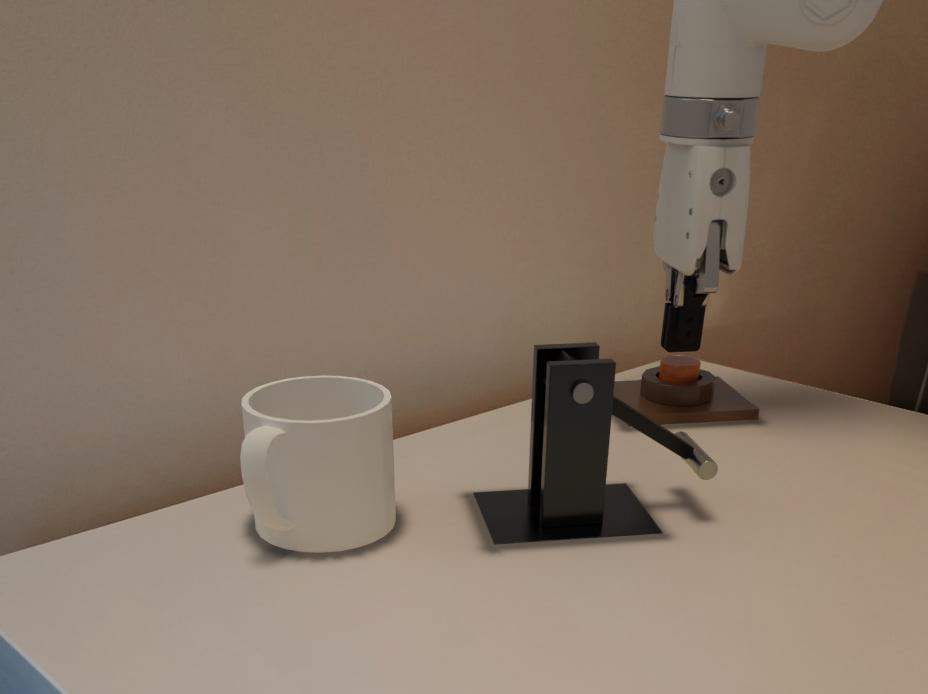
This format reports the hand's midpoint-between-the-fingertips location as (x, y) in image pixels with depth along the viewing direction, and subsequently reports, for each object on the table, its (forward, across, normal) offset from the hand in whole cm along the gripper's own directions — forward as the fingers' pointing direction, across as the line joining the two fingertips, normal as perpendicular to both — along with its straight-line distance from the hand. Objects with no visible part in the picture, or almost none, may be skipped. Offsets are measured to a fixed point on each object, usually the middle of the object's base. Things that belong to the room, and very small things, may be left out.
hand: (679, 349), depth 90 cm
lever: (-1, -22, +12) cm, 25 cm away
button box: (+6, 0, 0) cm, 6 cm away
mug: (+7, -22, +34) cm, 41 cm away
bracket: (+6, -22, +16) cm, 28 cm away
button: (+3, 0, 0) cm, 3 cm away
